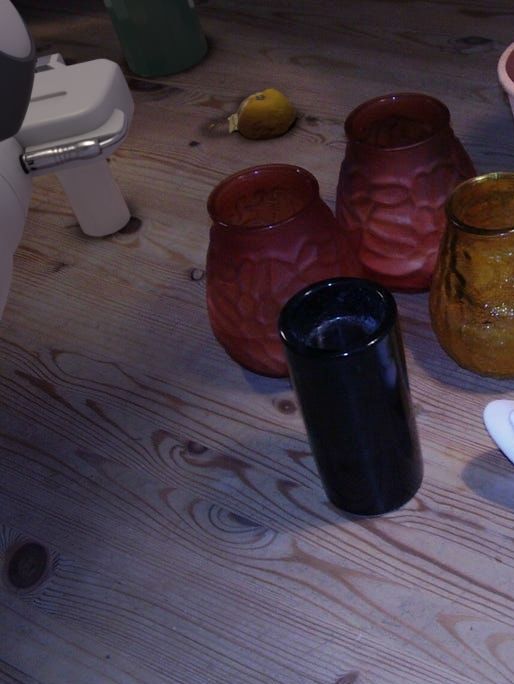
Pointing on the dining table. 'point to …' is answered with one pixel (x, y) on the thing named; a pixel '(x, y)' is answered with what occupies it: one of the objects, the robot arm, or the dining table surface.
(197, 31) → the holder
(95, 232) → the shaker
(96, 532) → the dining table surface
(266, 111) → the fruit
